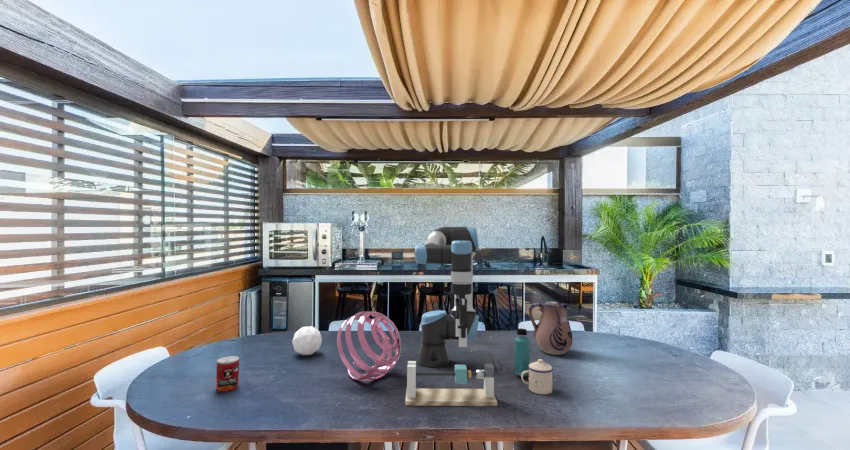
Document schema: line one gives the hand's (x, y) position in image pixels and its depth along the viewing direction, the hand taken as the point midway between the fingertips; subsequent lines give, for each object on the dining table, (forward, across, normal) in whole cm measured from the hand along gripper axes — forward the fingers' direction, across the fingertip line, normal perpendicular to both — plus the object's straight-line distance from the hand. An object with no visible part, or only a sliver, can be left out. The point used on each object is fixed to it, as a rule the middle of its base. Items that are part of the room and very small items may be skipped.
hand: (461, 341), depth 138 cm
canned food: (+21, +8, +89) cm, 91 cm away
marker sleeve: (+14, 0, 0) cm, 14 cm away
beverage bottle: (+21, +22, -28) cm, 41 cm away
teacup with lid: (+21, +8, -30) cm, 38 cm away
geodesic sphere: (+21, +50, +71) cm, 89 cm away
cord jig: (+21, 0, +4) cm, 21 cm away
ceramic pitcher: (+21, +55, -51) cm, 78 cm away
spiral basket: (+21, +20, +36) cm, 46 cm away
